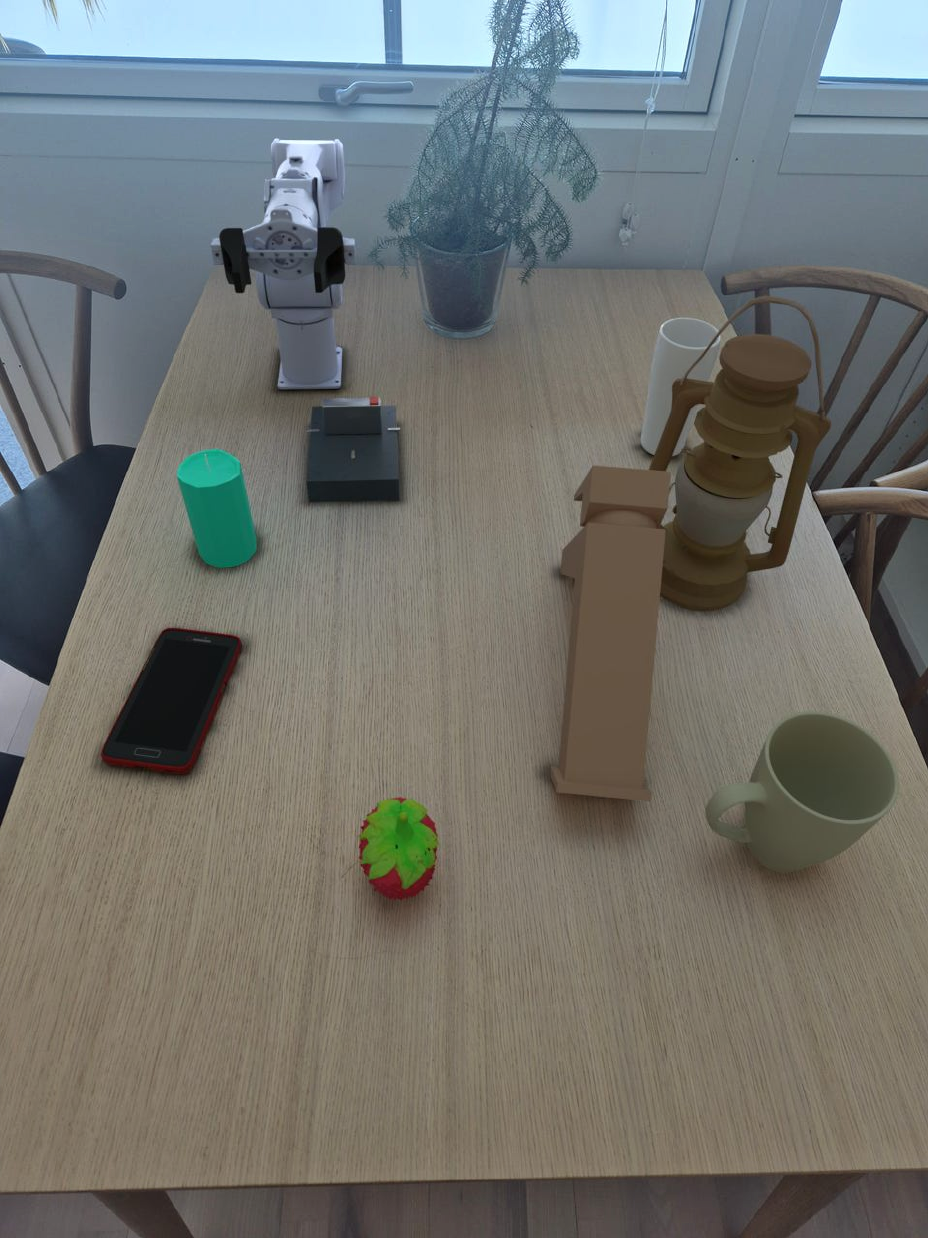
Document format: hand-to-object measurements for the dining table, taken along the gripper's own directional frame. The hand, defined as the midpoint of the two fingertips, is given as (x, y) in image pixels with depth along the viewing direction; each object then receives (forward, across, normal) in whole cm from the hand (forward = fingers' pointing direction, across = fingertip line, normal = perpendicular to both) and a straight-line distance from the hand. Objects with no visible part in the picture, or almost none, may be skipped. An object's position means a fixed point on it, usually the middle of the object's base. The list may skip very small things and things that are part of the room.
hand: (278, 282), depth 80 cm
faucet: (+31, +28, +25) cm, 48 cm away
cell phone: (+32, -9, +25) cm, 41 cm away
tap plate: (-2, +6, +22) cm, 22 cm away
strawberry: (+49, +10, +26) cm, 56 cm away
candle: (+12, -7, +23) cm, 27 cm away
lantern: (+18, +41, +24) cm, 51 cm away
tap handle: (-4, +6, +18) cm, 20 cm away
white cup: (-4, +43, +22) cm, 48 cm away
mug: (+48, +39, +26) cm, 67 cm away
